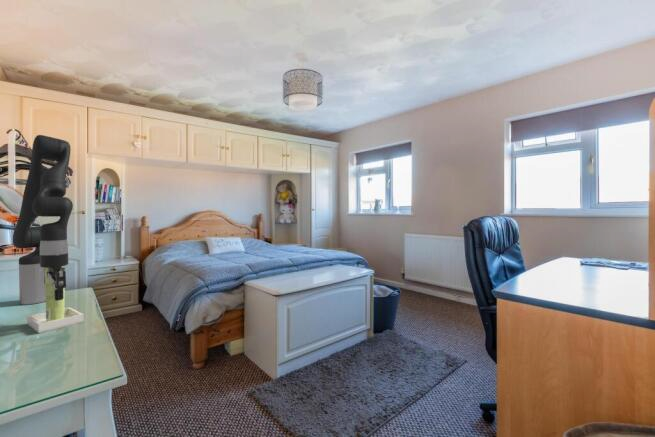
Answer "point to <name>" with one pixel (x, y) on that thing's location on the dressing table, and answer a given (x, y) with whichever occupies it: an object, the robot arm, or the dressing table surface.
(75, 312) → the tray
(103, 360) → the dressing table surface
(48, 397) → the dressing table surface
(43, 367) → the dressing table surface
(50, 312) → the tube
